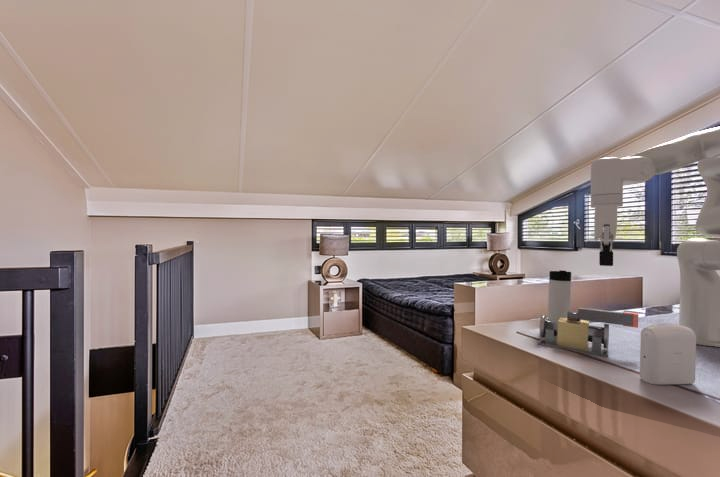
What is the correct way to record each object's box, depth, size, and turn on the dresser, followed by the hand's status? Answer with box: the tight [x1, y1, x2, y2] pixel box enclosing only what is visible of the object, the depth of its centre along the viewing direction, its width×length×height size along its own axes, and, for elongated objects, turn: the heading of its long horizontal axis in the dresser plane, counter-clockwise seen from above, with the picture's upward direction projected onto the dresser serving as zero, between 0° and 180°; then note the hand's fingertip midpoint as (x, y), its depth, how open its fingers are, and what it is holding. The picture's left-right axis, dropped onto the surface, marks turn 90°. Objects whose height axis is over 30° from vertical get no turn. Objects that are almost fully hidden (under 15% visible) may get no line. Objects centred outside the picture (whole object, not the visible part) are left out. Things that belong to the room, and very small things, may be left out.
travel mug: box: [547, 269, 572, 321], centre depth 113 cm, size 6×7×20 cm
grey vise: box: [537, 314, 610, 358], centre depth 97 cm, size 16×10×7 cm, turn 55°
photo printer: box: [639, 322, 697, 385], centre depth 73 cm, size 10×4×12 cm, turn 96°
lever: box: [567, 307, 639, 329], centre depth 94 cm, size 16×3×4 cm, turn 59°
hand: (606, 265), depth 100 cm, fingers closed
